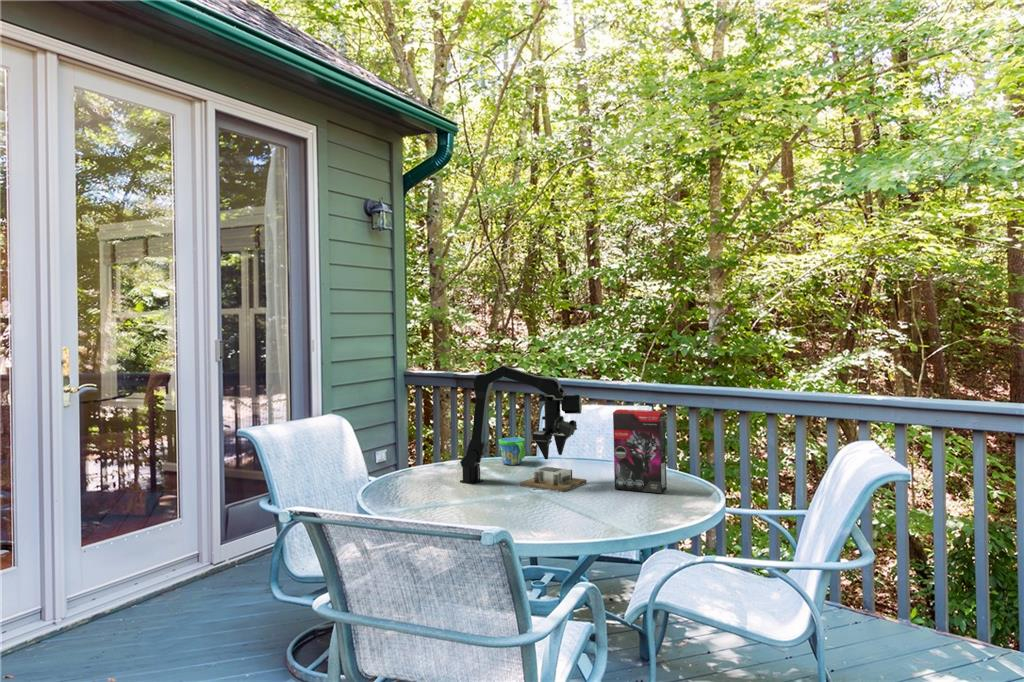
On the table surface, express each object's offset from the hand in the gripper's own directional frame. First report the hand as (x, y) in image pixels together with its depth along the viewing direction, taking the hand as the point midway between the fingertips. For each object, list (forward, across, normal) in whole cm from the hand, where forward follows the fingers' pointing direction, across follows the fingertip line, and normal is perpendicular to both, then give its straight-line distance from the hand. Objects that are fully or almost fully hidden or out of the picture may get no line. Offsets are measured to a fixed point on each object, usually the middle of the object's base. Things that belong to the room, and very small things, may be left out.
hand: (553, 457), depth 256 cm
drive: (+9, 0, 0) cm, 9 cm away
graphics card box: (+10, +8, -30) cm, 32 cm away
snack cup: (+10, +22, +34) cm, 42 cm away
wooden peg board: (+10, 0, 0) cm, 10 cm away
